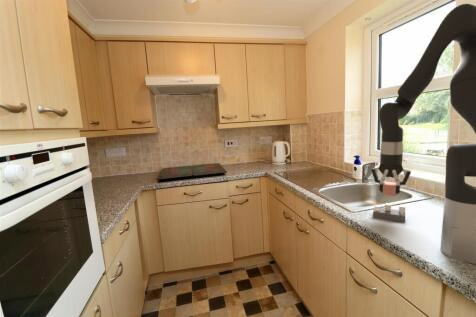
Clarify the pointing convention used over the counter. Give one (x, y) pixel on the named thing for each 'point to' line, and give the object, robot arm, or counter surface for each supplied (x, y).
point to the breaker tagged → (388, 207)
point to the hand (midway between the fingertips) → (389, 193)
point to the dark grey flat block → (388, 214)
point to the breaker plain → (401, 209)
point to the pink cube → (389, 188)
